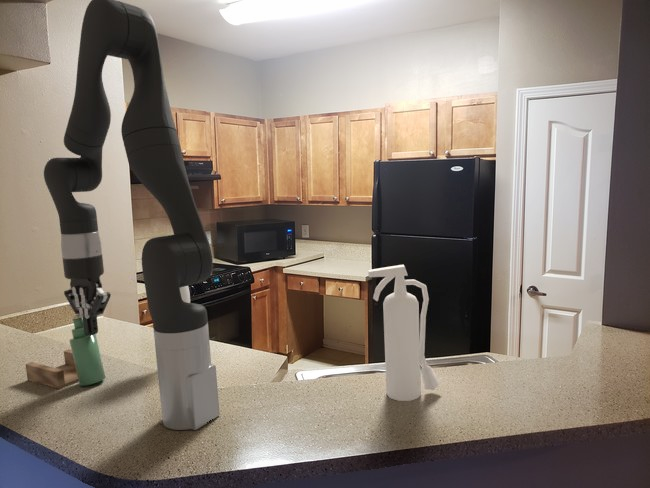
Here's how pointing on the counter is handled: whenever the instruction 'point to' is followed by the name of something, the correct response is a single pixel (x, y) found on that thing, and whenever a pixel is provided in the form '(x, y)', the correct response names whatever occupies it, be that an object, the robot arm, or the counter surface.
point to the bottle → (86, 354)
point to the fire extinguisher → (404, 336)
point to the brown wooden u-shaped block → (54, 373)
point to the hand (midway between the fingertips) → (91, 334)
